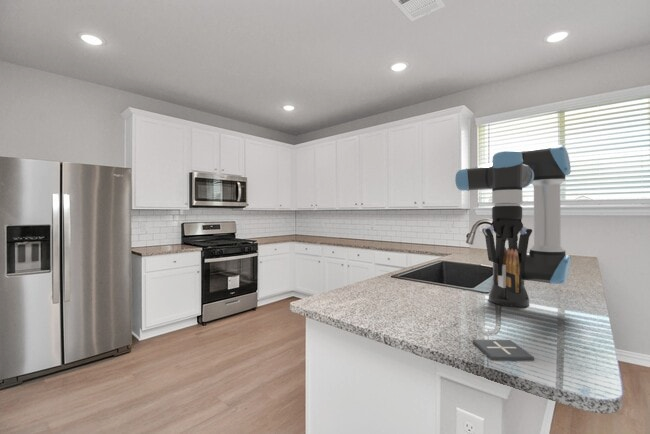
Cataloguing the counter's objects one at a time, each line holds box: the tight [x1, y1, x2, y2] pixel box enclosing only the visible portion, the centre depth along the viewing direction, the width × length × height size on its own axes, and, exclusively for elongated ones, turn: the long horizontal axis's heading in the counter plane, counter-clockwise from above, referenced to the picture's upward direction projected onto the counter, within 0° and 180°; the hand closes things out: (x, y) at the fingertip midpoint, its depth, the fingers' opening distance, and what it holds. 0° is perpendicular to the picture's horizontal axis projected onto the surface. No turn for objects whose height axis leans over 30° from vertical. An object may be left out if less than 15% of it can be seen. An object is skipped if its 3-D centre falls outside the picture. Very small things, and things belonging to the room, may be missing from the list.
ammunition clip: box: [494, 246, 521, 294], centre depth 88 cm, size 11×2×12 cm, turn 178°
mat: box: [472, 339, 535, 361], centre depth 86 cm, size 11×11×1 cm
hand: (506, 286), depth 88 cm, fingers closed on ammunition clip, 2 cm apart
